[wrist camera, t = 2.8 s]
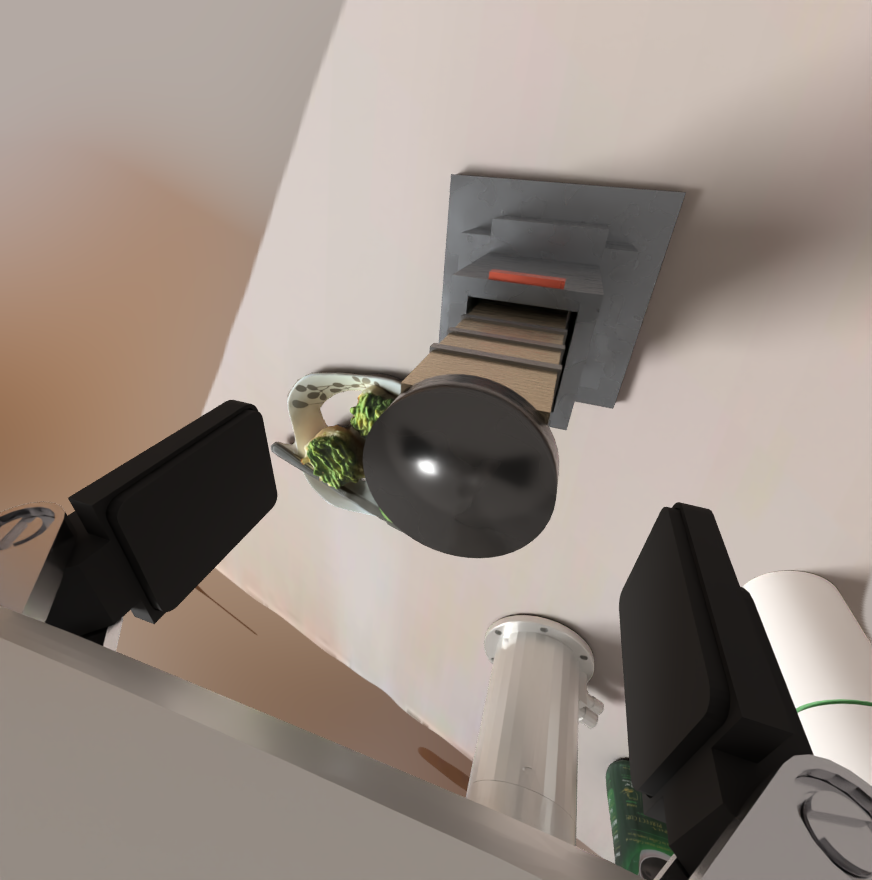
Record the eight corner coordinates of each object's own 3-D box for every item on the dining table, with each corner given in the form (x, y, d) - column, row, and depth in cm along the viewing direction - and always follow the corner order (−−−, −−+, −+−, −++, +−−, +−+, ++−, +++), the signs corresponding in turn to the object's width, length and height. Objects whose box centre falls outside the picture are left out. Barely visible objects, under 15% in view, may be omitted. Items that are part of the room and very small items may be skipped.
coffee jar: (602, 777, 59) (606, 979, 44) (610, 750, 55) (618, 962, 40) (678, 801, 56) (711, 1026, 41) (692, 774, 52) (735, 1012, 37)
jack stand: (682, 192, 24) (754, 194, 14) (612, 403, 32) (624, 508, 21) (455, 174, 28) (371, 164, 17) (440, 370, 35) (375, 448, 24)
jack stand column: (586, 265, 27) (580, 418, 9) (567, 343, 30) (533, 579, 12) (506, 256, 28) (360, 373, 10) (495, 332, 31) (364, 530, 13)
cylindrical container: (782, 639, 38) (1005, 1158, 18) (718, 597, 38) (869, 1072, 17) (864, 604, 34) (1279, 1231, 13) (792, 557, 34) (1103, 1118, 13)
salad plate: (294, 497, 50) (270, 522, 46) (262, 354, 41) (228, 371, 37) (448, 532, 45) (436, 563, 41) (452, 378, 36) (436, 400, 32)
